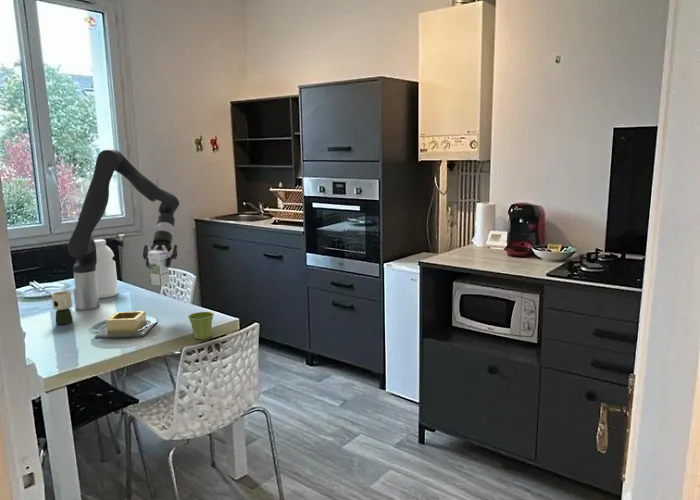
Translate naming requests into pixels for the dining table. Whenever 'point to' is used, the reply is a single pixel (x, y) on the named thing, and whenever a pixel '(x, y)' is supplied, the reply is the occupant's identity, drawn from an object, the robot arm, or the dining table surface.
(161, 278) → the syrup box
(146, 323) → the hitch plate
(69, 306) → the character mug
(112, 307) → the dining table surface
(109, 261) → the bottle
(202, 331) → the plant pot
